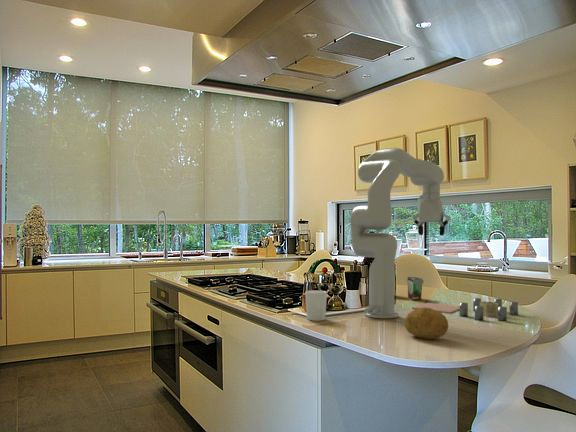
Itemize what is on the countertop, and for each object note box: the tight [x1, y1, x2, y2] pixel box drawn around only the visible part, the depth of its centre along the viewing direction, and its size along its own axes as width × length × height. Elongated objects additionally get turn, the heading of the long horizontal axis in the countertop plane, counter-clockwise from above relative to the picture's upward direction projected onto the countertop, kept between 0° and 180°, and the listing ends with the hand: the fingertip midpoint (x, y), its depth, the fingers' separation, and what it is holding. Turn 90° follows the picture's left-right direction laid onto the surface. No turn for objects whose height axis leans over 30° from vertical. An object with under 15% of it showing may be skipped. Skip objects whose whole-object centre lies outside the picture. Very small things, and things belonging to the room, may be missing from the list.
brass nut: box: [480, 301, 498, 318], centre depth 184 cm, size 7×6×5 cm
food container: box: [406, 276, 425, 302], centre depth 225 cm, size 12×6×10 cm, turn 179°
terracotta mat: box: [411, 302, 460, 314], centre depth 199 cm, size 16×16×1 cm
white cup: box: [304, 289, 328, 322], centre depth 174 cm, size 8×8×10 cm
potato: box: [404, 307, 449, 340], centre depth 145 cm, size 10×13×9 cm
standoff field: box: [459, 297, 519, 322], centre depth 184 cm, size 27×17×5 cm, turn 141°
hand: (431, 235), depth 216 cm, fingers open, 9 cm apart
